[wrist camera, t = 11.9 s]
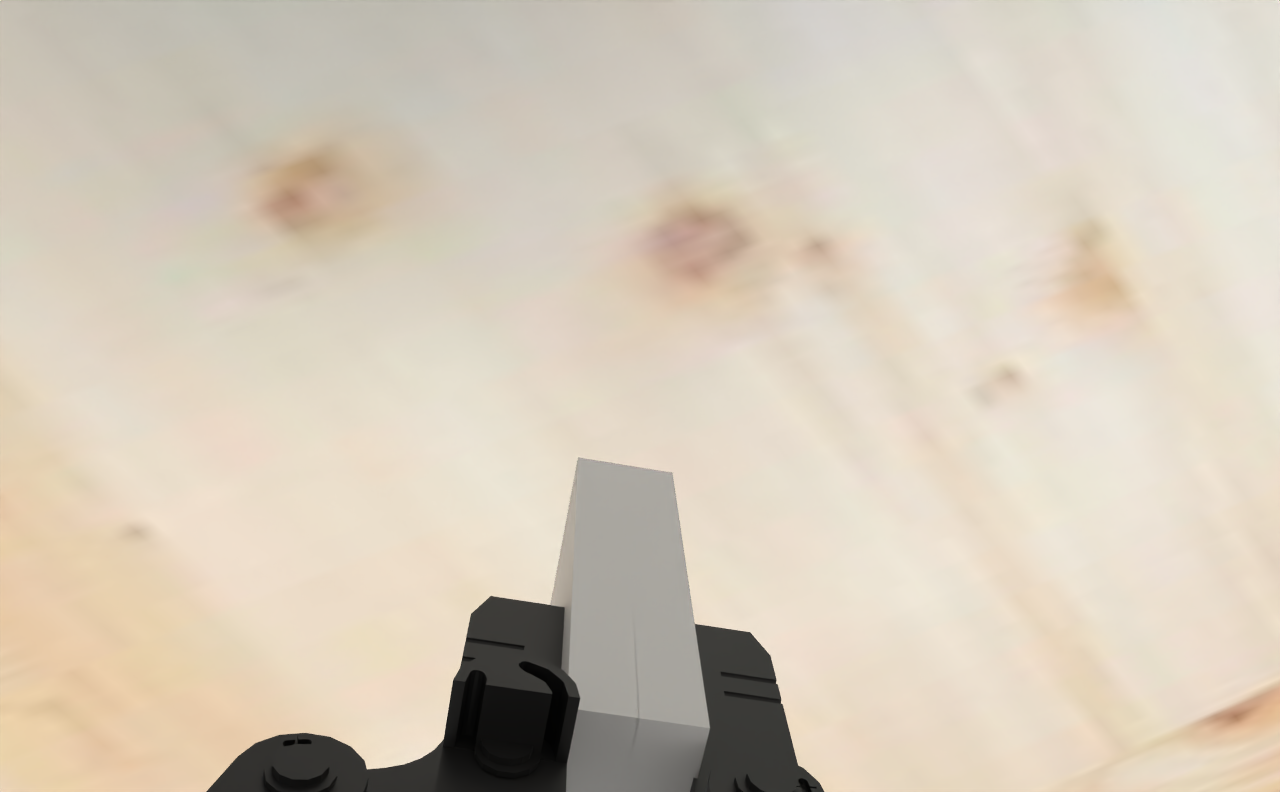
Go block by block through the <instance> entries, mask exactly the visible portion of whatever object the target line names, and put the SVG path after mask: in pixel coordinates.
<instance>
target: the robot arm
mask: <svg viewBox="0 0 1280 792" xmlns="http://www.w3.org/2000/svg"><path fill="white" fill-rule="evenodd" d="M207 792H824V790H823V789H822V787H821V785H820V783H819V782H818V781H817V780H816V779H815V778H814V777H813V776H811V775H810V774H809V773H808V772H807V771H806V770H805V769H804V768H802V767H800V766H798V764H797V760H796V756H795V752H794V748H793V744H792V740H791V736H790V732H789V728H788V724H787V720H786V716H785V712H784V708H783V704H781V696H780V692H779V688H778V684H776V676H775V672H774V668H773V664H772V661H771V657H770V655H769V654H768V653H767V651H766V650H765V649H764V648H763V647H762V646H761V644H760V643H759V642H758V641H757V640H756V639H755V638H754V636H753V635H752V634H751V633H750V632H744V631H737V630H731V629H724V628H717V627H711V626H704V625H698V624H695V623H694V616H693V609H692V603H691V596H690V589H689V582H688V575H687V569H686V562H685V555H684V548H683V542H682V535H681V528H680V521H679V514H678V508H677V501H676V494H675V487H674V481H673V474H672V473H670V472H664V471H658V470H652V469H645V468H639V467H633V466H627V465H621V464H615V463H609V462H602V461H596V460H590V459H584V458H578V461H577V466H576V471H575V477H574V482H573V487H572V493H571V498H570V503H569V509H568V514H567V519H566V525H565V530H564V535H563V541H562V546H561V551H560V557H559V562H558V567H557V573H556V578H555V584H554V589H553V594H552V600H551V605H546V604H539V603H533V602H526V601H519V600H513V599H506V598H499V597H493V596H490V597H489V598H488V599H487V600H486V601H485V602H484V603H483V604H482V605H481V606H479V607H478V608H477V609H476V610H475V611H474V612H473V613H472V614H471V617H470V622H469V627H468V632H467V637H466V642H465V647H464V652H463V657H462V662H461V667H460V669H459V671H458V673H457V675H456V676H455V678H454V680H453V685H452V691H451V698H450V704H449V710H448V717H447V723H446V729H445V735H444V740H443V741H442V742H441V743H440V744H439V745H438V747H437V748H436V749H435V750H434V751H432V752H430V753H429V754H427V755H426V756H424V757H423V758H421V759H418V760H415V761H413V762H410V763H407V764H405V765H399V766H394V767H388V768H379V769H368V770H367V769H366V765H365V761H364V760H363V759H362V758H361V757H360V756H359V755H358V754H357V753H356V752H355V750H354V749H353V748H352V747H350V746H348V745H346V744H344V743H342V742H340V741H338V740H335V739H333V738H331V737H327V736H321V735H315V734H308V733H299V734H286V735H278V736H275V737H272V738H269V739H266V740H263V741H261V742H258V743H255V744H254V745H253V746H251V747H250V748H249V749H247V750H246V751H245V752H243V753H242V754H241V755H239V756H238V757H237V758H236V759H235V760H234V762H233V763H232V764H231V765H230V766H229V767H228V768H227V769H226V770H225V772H224V773H223V774H222V775H221V776H220V777H219V778H218V779H217V781H216V782H215V783H214V784H213V785H212V786H211V787H210V788H209V789H208V791H207Z"/></svg>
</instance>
